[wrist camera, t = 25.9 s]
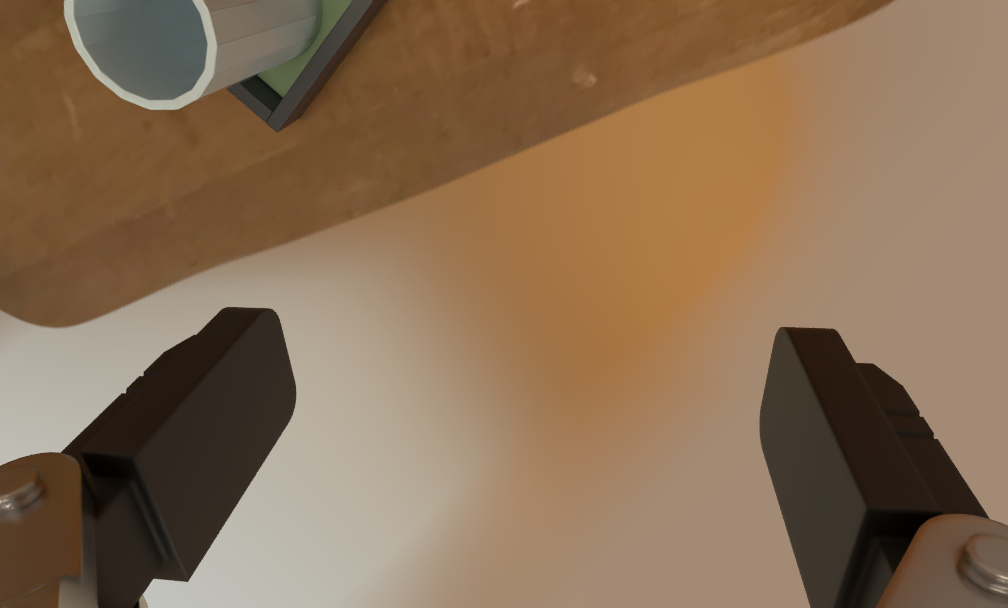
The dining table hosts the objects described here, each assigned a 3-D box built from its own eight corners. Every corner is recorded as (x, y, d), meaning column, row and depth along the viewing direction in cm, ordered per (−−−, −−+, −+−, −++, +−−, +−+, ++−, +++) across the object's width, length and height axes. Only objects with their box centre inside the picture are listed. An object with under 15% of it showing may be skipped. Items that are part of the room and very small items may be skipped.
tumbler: (344, -1, 34) (244, 27, 24) (283, 85, 36) (172, 140, 27) (248, -93, 32) (101, -101, 23) (192, 4, 35) (40, 32, 25)
